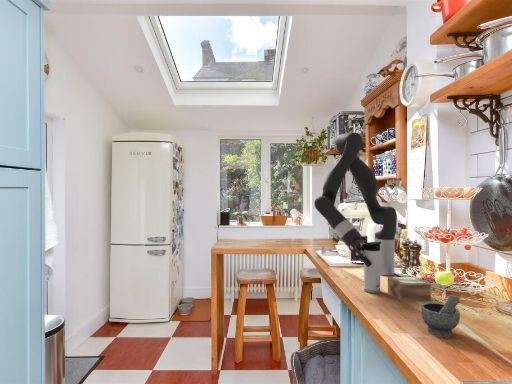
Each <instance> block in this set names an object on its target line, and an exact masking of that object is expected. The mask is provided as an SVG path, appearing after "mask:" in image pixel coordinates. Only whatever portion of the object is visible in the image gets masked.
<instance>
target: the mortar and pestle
mask: <svg viewBox="0 0 512 384" xmlns="http://www.w3.org/2000/svg"><path fill="white" fill-rule="evenodd" d="M460 302H461V301H460V298H459V297H458V295H457V296H456V295H455V294H449V295H448V296H447V299H446V302H445V303H444V304H443V303H440V302H426V303H421V304H420V310H421V311H420V312H421V317H422V320H423V321H424V323H425V325H427V333H429V334H430V335H432V336H435V337H440V338H450V337H453V331H452V330H453V329H455V328H457V326H458V325H459V323H460V317H461V316H460V315H461V313H460V310H459V308H457V306H458V304H459V303H460Z"/></svg>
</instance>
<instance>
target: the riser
mask: <svg viewBox="0 0 512 384" xmlns="http://www.w3.org/2000/svg"><path fill="white" fill-rule="evenodd" d="M431 286H432V285H431V284H430V283H428V282H427V281H425V280H422V279H419V278H417V277H415V276H403V277H402V276H401V277H400V276H398V277H397V276H395V277H391V276H390V277H389V276H388V277H387V293H388V294H389V295H392V296H393V297H394V298H396V299H397V300H399V301H400V302H428V301H429V302H432V301H431V300H432V294H431V293H432V290H431V288H432V287H431Z"/></svg>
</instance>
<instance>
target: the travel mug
mask: <svg viewBox="0 0 512 384" xmlns="http://www.w3.org/2000/svg"><path fill="white" fill-rule="evenodd" d="M380 244H381V242H375V241H368V243H365V244H364V254H365V256H366V257H367V258H368V259H369V260H370V262H371V263H372V265H370V266H369V267H367V266H366V265H365V264H363V291H364V292H365V293H369V294H379V293H380V292H381V275H380Z"/></svg>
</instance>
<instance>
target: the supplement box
mask: <svg viewBox="0 0 512 384" xmlns="http://www.w3.org/2000/svg"><path fill="white" fill-rule="evenodd" d="M361 235H362V237H361V239H360V240H361V241H362V242H364V241H366V242H367V243H368V242H369V241H368V235H363V234H361ZM351 261H361V262H363V261H362V260H360V259H357V258H356V257H355V256H354V255H353V253H352V252H351V251H350V262H351Z"/></svg>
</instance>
